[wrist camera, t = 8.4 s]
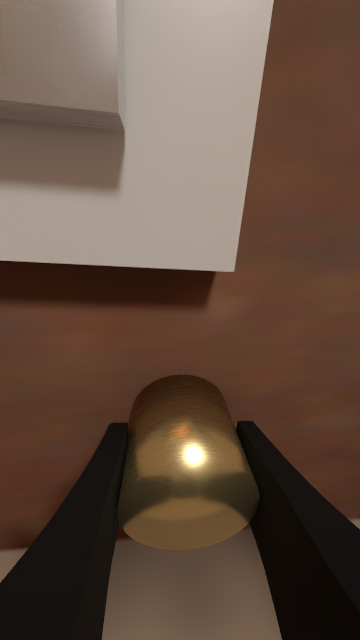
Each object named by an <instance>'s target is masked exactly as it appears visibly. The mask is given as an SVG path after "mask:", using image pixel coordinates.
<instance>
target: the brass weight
mask: <svg viewBox="0 0 360 640" xmlns="http://www.w3.org/2000/svg"><path fill="white" fill-rule="evenodd" d="M258 505H259V491H258V487H257V485H256V482H255V479H254V477H253V474H252V471H251V469H250V466H249V463H248V461H247V458H246V455H245V453H244V450H243V447H242V445H241V442H240V439H239V437H238V434H237V432H236V429H235V426H234V424H233V421H232V418H231V416H230V413H229V410H228V408H227V405H226V402H225V400H224V397H223V395H222V394H221V392H220V391H219V390H218V388H217V387H216V386H214V385H213V384H212V383H210V382H209V381H207V380H205V379H203V378H200V377H196V376H191V375H173V376H168V377H164V378H161V379H159V380H157V381H155V382H153V383H151V384H150V385H148V386H147V387H145V388H144V389H143V390H142V391H141V392H140V394H139V395H138V396H137V398H136V399H135V401H134V403H133V406H132V410H131V417H130V424H129V432H128V439H127V446H126V453H125V460H124V467H123V474H122V482H121V489H120V496H119V503H118V520H119V523H120V525H121V527H122V529H123V530H124V531H125V532H126V534H127V535H128V536H130V537H131V538H132V539H133V540H135V541H137V542H138V543H141V544H143V545H145V546H148V547H152V548H155V549H159V550H167V551H188V550H196V549H200V548H205V547H209V546H212V545H214V544H218V543H220V542H222V541H224V540H226V539H228V538H230V537H232V536H233V535H235V534H237V533H238V532H239V531H241V530H242V529H243V528H244V527H245V526H246V525H247V524H248V523H249V522H250V521H251V519H252V518H253V517H254V515H255V513H256V511H257V509H258Z"/></svg>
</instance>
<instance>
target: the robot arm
mask: <svg viewBox="0 0 360 640" xmlns="http://www.w3.org/2000/svg"><path fill="white" fill-rule="evenodd" d="M236 432H237V434H238V437H239V439H240V442H241V445H242V447H243V450H244V453H245V455H246V458H247V461H248V463H249V466H250V469H251V471H252V474H253V477H254V479H255V482H256V485H257V487H258V491H259V505H258V509H257V511H256V513H255V515H254V517H253V518H252V519H251V521H250V525H251V528H252V531H253V534H254V537H255V540H256V543H257V546H258V549H259V552H260V556H261V559H262V562H263V565H264V569H265V572H266V576H267V580H268V584H269V588H270V592H271V596H272V600H273V603H274V608H275V611H276V616H277V620H278V624H279V628H280V632H281V637H282V640H360V529H359V528H357V527H356V526H355V525H354V524H353V523H352V522H351V521H350V520H348V519H347V518H346V517H345V516H344V515H343V514H342V513H340V512H339V511H338V510H337V509H336V508H335V507H334V506H333V505H332V504H330V503H329V502H328V501H327V500H326V499H325V498H324V497H323V496H322V495H321V494H320V493H319V492H318V491H317V490H316V489H315V488H314V487H313V486H312V485H311V484H310V483H309V482H308V481H307V480H306V479H305V478H304V477H303V476H302V475H301V474H300V473H299V472H298V471H297V470H296V469H295V468H294V467H293V466H292V465H291V464H290V462H289V461H288V460H287V459H286V458H285V457H284V456H283V455H282V454H281V453H280V452H279V451H278V449H277V448H276V447H275V446H274V445H273V444H272V443H271V442H270V440H269V439H268V438H267V437H266V436H265V435H264V434H263V432H262V431H261V430H260V429H259V428H258V427H257V426H256V425H255V423H254V422H253V421H238V423H237V428H236ZM127 439H128V425H127V423H111V424H110V425H109V426H108V429H107V431H106V433H105V435H104V437H103V439H102V441H101V443H100V444H99V446H98V448H97V450H96V452H95V453H94V455H93V457H92V459H91V460H90V462H89V463H88V465H87V467H86V468H85V470H84V472H83V473H82V475H81V476H80V478H79V480H78V481H77V483H76V484H75V486H74V487H73V489H72V490H71V491H70V493H69V494H68V496H67V497H66V499H65V500H64V502H63V503H62V505H61V506H60V508H59V509H58V510H57V512H56V513H55V515H54V516H53V517H52V519H51V520H50V521H49V523H48V524H47V525H46V527H45V528H44V529H43V531H42V532H41V533H40V535H39V536H38V537H37V538H36V540H35V541H34V542H33V544H32V545H31V546H30V547H29V549H28V550H27V551H26V552H25V553H24V555H23V556H22V557H21V558H20V560H19V561H18V562H17V563H16V565H15V566H14V567H13V568H12V569H11V571H10V572H9V573H8V574H7V576H6V577H5V578H4V579H3V580H2V581H1V583H0V640H102V632H103V623H104V615H105V607H106V598H107V589H108V582H109V576H110V569H111V563H112V557H113V553H114V548H115V542H116V537H117V532H118V526H119V520H118V503H119V496H120V489H121V482H122V474H123V467H124V460H125V453H126V446H127Z"/></svg>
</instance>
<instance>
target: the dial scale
mask: <svg viewBox="0 0 360 640" xmlns="http://www.w3.org/2000/svg"><path fill="white" fill-rule="evenodd" d="M273 1H274V0H123V8H124V69H125V130H126V132H119V131H110V130H100V129H91V128H82V127H72V126H63V125H53V124H44V123H34V122H25V121H15V120H6V119H0V260H1V261H21V262H42V263H62V264H83V265H103V266H123V267H144V268H164V269H184V270H205V271H225V272H234V268H235V261H236V254H237V247H238V241H239V234H240V227H241V220H242V213H243V206H244V199H245V193H246V186H247V179H248V172H249V165H250V158H251V152H252V145H253V138H254V131H255V124H256V117H257V110H258V104H259V97H260V90H261V83H262V76H263V69H264V62H265V56H266V49H267V42H268V35H269V28H270V21H271V15H272V8H273Z"/></svg>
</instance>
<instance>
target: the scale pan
mask: <svg viewBox="0 0 360 640" xmlns="http://www.w3.org/2000/svg"><path fill="white" fill-rule="evenodd" d="M0 119H6V120H15V121H25V122H34V123H44V124H53V125H63V126H72V127H82V128H91V129H100V130H110V131H119V132H126V130H125V69H124V8H123V0H0Z"/></svg>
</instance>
